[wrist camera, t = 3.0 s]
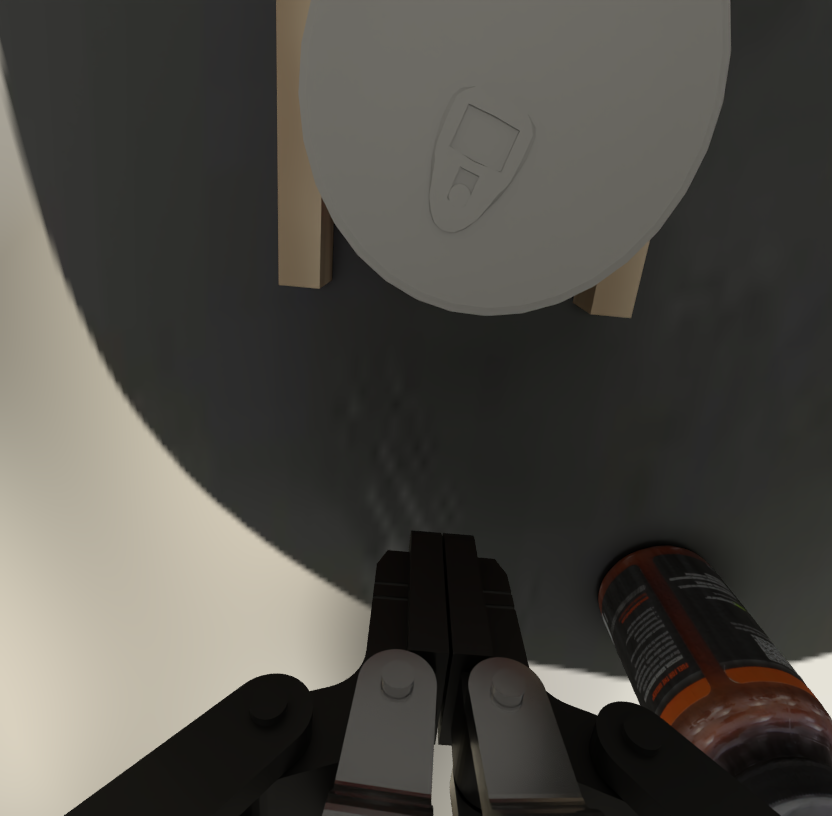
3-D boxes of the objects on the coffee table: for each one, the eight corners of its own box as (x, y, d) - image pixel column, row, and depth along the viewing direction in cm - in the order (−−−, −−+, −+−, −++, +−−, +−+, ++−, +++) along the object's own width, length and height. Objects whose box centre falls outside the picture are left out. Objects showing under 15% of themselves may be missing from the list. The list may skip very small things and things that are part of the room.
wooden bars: (691, -59, 17) (733, -103, 14) (608, 306, 21) (631, 317, 19) (296, -99, 17) (274, -150, 14) (295, 276, 21) (279, 284, 19)
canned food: (354, 249, 21) (279, 288, 10) (382, 11, 18) (314, -263, 7) (540, 281, 21) (647, 349, 11) (596, 52, 18) (818, -160, 8)
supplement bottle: (589, 632, 27) (688, 897, 17) (600, 539, 25) (722, 776, 15) (702, 632, 27) (874, 900, 17) (723, 538, 25) (936, 778, 14)
